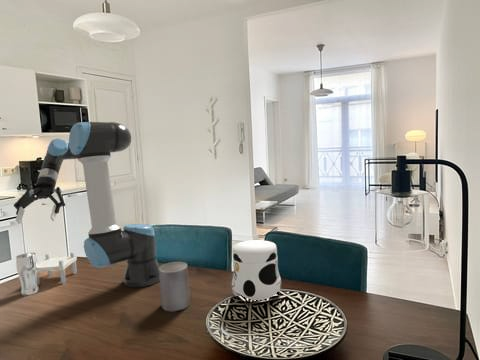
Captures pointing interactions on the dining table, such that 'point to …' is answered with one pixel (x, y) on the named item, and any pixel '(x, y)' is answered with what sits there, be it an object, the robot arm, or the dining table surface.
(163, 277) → the pillar candle
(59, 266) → the shelf stand
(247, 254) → the milk container
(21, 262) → the silver metal goblet
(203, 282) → the dining table surface
